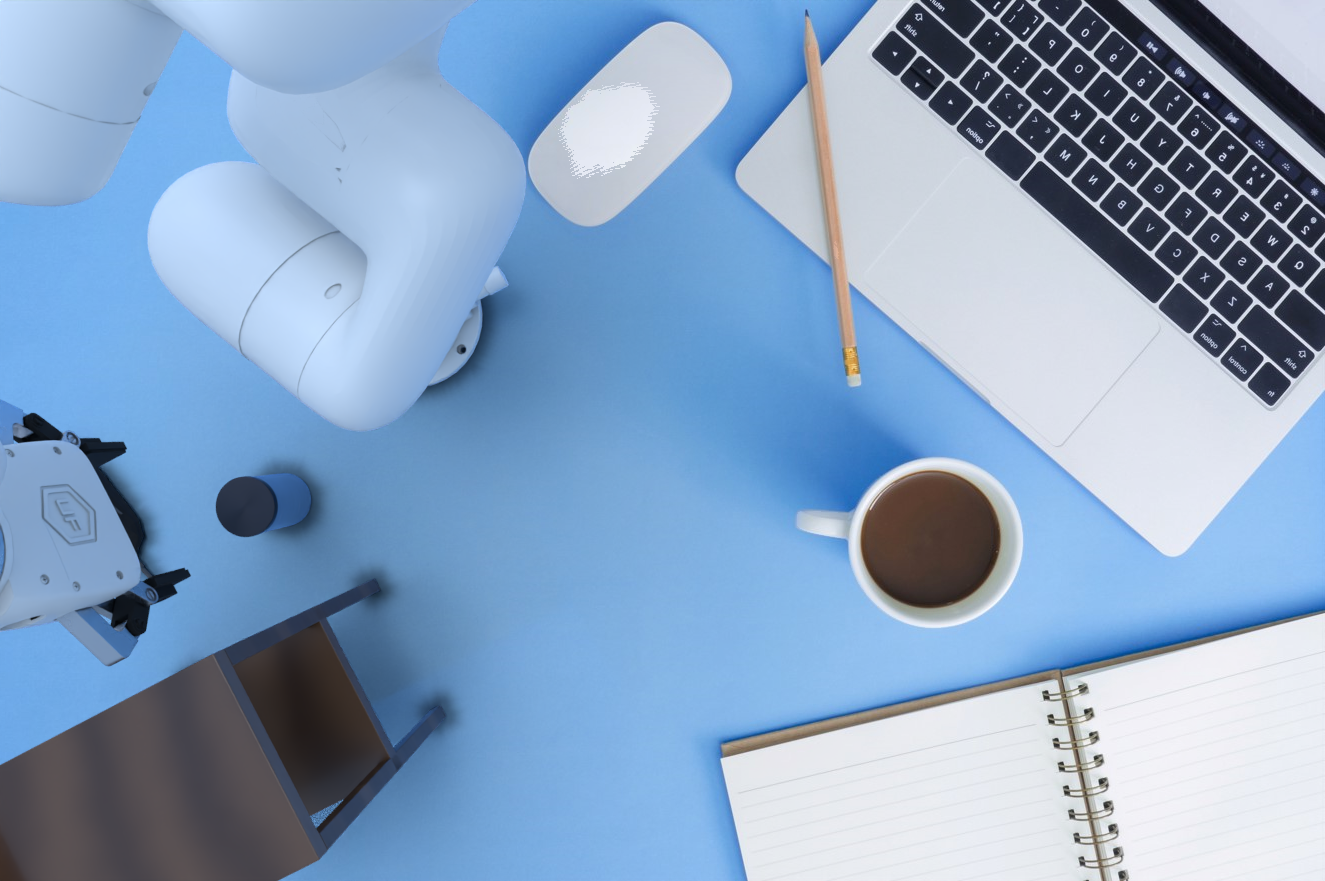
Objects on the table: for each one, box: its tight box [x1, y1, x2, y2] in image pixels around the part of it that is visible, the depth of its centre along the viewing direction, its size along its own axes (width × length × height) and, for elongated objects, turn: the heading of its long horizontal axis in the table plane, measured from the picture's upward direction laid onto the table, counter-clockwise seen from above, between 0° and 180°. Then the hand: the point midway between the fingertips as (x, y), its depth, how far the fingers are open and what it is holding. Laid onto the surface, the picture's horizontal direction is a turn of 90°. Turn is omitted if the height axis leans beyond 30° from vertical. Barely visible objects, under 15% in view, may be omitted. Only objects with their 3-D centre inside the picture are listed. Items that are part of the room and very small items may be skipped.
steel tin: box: [215, 472, 312, 538], centre depth 76 cm, size 5×5×7 cm
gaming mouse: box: [94, 467, 153, 579], centre depth 78 cm, size 6×15×4 cm, turn 42°
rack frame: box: [223, 578, 447, 851], centre depth 67 cm, size 20×14×25 cm
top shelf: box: [0, 648, 328, 881], centre depth 53 cm, size 20×14×3 cm
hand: (139, 518), depth 60 cm, fingers open, 9 cm apart
